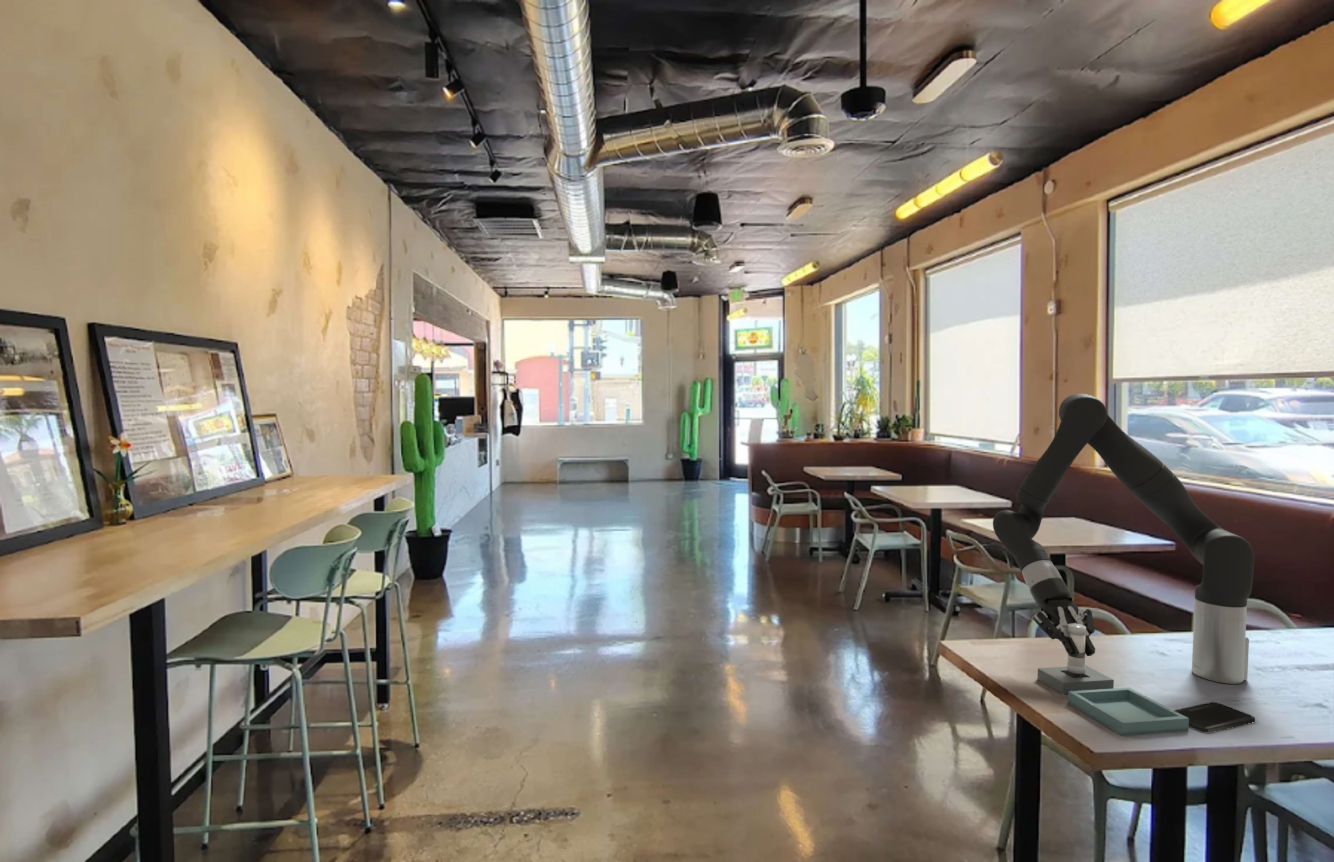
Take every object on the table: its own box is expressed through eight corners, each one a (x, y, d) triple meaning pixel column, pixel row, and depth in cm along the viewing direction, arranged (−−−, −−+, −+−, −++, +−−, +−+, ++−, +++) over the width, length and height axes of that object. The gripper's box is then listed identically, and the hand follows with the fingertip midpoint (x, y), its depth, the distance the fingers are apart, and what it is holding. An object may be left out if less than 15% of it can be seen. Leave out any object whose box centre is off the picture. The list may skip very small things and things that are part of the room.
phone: (1258, 718, 134) (1205, 729, 129) (1257, 723, 134) (1205, 735, 129) (1214, 701, 141) (1163, 711, 136) (1214, 706, 141) (1163, 717, 136)
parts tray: (1128, 699, 144) (1128, 687, 143) (1188, 731, 130) (1188, 718, 130) (1068, 703, 141) (1068, 691, 141) (1122, 736, 128) (1123, 723, 128)
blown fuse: (1077, 667, 152) (1078, 623, 152) (1089, 673, 149) (1089, 628, 149) (1063, 668, 152) (1064, 623, 151) (1074, 674, 149) (1075, 629, 148)
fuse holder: (1085, 676, 155) (1085, 665, 155) (1113, 691, 147) (1113, 679, 147) (1037, 679, 154) (1037, 668, 154) (1063, 694, 146) (1063, 682, 146)
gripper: (1025, 577, 156) (1063, 649, 144) (1081, 574, 158) (1122, 645, 146) (1010, 594, 161) (1045, 664, 150) (1064, 591, 163) (1103, 660, 152)
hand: (1083, 654), depth 148 cm, fingers closed on blown fuse, 3 cm apart
